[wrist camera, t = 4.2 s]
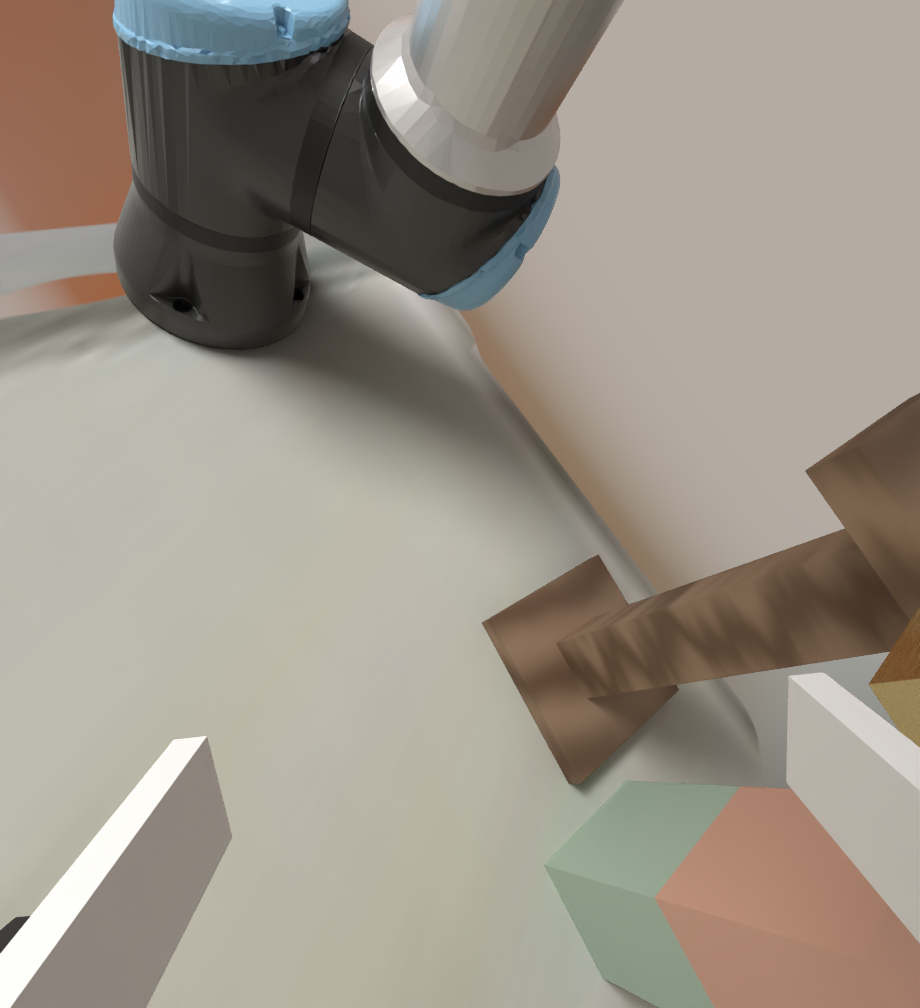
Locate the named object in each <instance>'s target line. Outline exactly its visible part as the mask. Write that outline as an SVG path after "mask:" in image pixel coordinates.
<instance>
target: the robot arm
mask: <svg viewBox="0 0 920 1008" xmlns="http://www.w3.org/2000/svg"><path fill="white" fill-rule="evenodd" d="M623 1H624V0H418V2H417V5H416V9H415V12H413V13H409V14H406V15H403V16H401V17H399V18H397V19H395V20H394V21H392V22H391V23H389V24H388V25H387V27H386V28H385V29H384V30H383V31H382V33H381V34H380V36H379V37H378V39H377V41H376V43H375V46H374V45H372V44H371V43H369V42H368V41H366V40H365V39H363V38H362V37H360V36H358V35H357V34H355V33H354V32H352V31H351V30H350V29H348V28H347V27H348V25H349V20H350V10H349V7H348V0H115V9H114V13H113V24H114V29H115V31H116V32H117V35H118V44H119V54H120V63H121V72H122V80H123V81H122V82H123V90H124V100H125V109H126V119H127V128H128V137H129V147H130V156H131V163H132V172H133V173H132V174H133V181H132V184H131V187H130V190H129V192H128V195H127V198H126V201H125V204H124V207H123V209H122V212H121V215H120V218H119V221H118V224H117V226H116V230H115V234H114V254H115V261H116V268H117V274H118V277H119V280H120V283H121V285H122V287H123V289H124V291H125V293H126V294H127V296H128V297H129V299H130V300H131V301H132V302H133V304H134V305H135V306H136V307H137V308H138V309H139V310H140V311H141V312H142V313H143V314H144V315H145V316H147V317H148V318H149V319H150V320H152V321H153V322H154V323H156V324H157V325H159V326H160V327H162V328H164V329H165V330H167V331H169V332H171V333H173V334H175V335H177V336H179V337H182V338H184V339H187V340H190V341H193V342H196V343H199V344H203V345H207V346H212V347H218V348H227V349H247V348H255V347H260V346H264V345H268V344H271V343H273V342H276V341H278V340H280V339H282V338H283V337H285V336H287V335H288V334H289V333H291V332H292V331H293V330H294V329H295V328H296V327H297V326H298V324H299V323H300V321H301V320H302V318H303V315H304V313H305V310H306V306H307V302H308V298H309V294H310V283H311V281H310V271H309V265H308V259H307V253H306V247H305V241H304V235H303V232H305V233H307V234H309V235H311V236H313V237H315V238H316V239H318V240H320V241H322V242H324V243H326V244H327V245H329V246H331V247H333V248H335V249H337V250H338V251H340V252H342V253H344V254H346V255H348V256H349V257H351V258H353V259H355V260H357V261H359V262H360V263H362V264H364V265H366V266H368V267H370V268H371V269H373V270H375V271H377V272H379V273H381V274H382V275H384V276H386V277H388V278H390V279H392V280H393V281H395V282H397V283H399V284H401V285H403V286H404V287H406V288H408V289H410V290H412V291H414V292H415V293H417V294H418V295H419V296H421V297H423V298H425V299H432V300H435V301H437V302H440V303H442V304H444V305H446V306H449V307H451V308H453V309H456V310H460V311H468V310H473V309H476V308H478V307H480V306H482V305H484V304H485V303H486V302H488V301H489V300H490V299H492V298H493V297H494V296H495V295H496V294H497V293H498V292H499V291H500V290H501V289H502V288H503V287H504V286H505V285H506V284H507V283H508V281H509V280H510V279H511V278H512V277H513V275H514V274H515V273H516V272H517V270H518V269H519V267H520V266H521V264H522V262H523V259H524V256H525V254H526V253H527V252H528V251H529V250H530V249H531V248H532V247H533V246H534V244H535V243H536V241H537V240H538V238H539V236H540V234H541V233H542V231H543V229H544V227H545V225H546V223H547V221H548V219H549V217H550V214H551V212H552V210H553V207H554V204H555V201H556V198H557V195H558V191H559V187H560V174H559V171H558V169H557V167H556V166H555V165H554V164H555V162H556V160H557V157H558V153H559V148H560V129H559V124H558V118H557V114H556V111H557V110H558V108H559V106H560V105H561V103H562V101H563V100H564V98H565V97H566V95H567V93H568V92H569V90H570V88H571V87H572V85H573V83H574V82H575V80H576V78H577V77H578V75H579V73H580V72H581V70H582V68H583V67H584V65H585V64H586V62H587V60H588V59H589V57H590V55H591V54H592V52H593V50H594V49H595V47H596V45H597V44H598V42H599V40H600V39H601V37H602V35H603V34H604V32H605V31H606V29H607V27H608V25H609V24H610V22H611V21H612V19H613V17H614V16H615V14H616V13H617V11H618V9H619V8H620V6H621V4H622V3H623ZM786 766H787V767H786V783H787V784H788V785H789V786H790V788H791V789H792V790H793V791H794V792H795V794H796V795H797V796H798V797H799V798H800V800H801V801H802V802H803V803H804V804H805V806H806V807H807V808H808V809H809V810H810V812H811V813H812V814H813V815H814V816H815V818H816V819H817V820H818V821H819V823H820V824H821V825H822V826H823V827H824V829H825V830H826V831H827V832H828V833H829V835H830V836H831V837H832V838H833V839H834V841H835V842H836V843H837V844H838V845H839V847H840V848H841V849H842V850H843V851H844V853H845V854H846V855H847V856H848V858H849V859H850V860H851V861H852V862H853V864H854V865H855V866H856V867H857V868H858V870H859V871H860V872H861V873H862V874H863V876H864V877H865V878H866V879H867V880H868V882H869V883H870V884H871V885H872V886H873V888H874V889H875V890H876V891H877V893H878V894H879V895H880V896H881V897H882V899H883V900H884V901H885V902H886V903H887V905H888V906H889V907H890V908H891V909H892V911H893V912H894V913H895V914H896V915H897V917H898V918H899V919H900V920H901V921H902V923H903V924H904V925H905V926H906V928H907V929H908V930H909V931H910V932H911V934H912V935H913V936H914V937H915V938H916V940H917V941H918V942H919V943H920V747H919V746H917V745H916V744H915V743H913V742H912V741H911V740H910V739H908V738H907V737H906V736H905V735H903V734H902V733H901V732H899V731H898V730H897V729H896V728H894V727H893V726H892V725H890V724H889V723H888V722H887V721H885V720H884V719H883V718H881V717H880V716H879V715H878V714H876V713H875V712H874V711H872V710H871V709H870V708H868V707H867V706H866V705H865V704H863V703H862V702H861V701H860V700H858V699H857V698H856V697H855V696H853V695H852V694H851V693H849V692H848V691H847V690H846V689H844V688H843V687H842V686H840V685H839V684H838V683H836V682H835V681H834V680H833V679H832V678H830V677H829V676H828V675H826V674H825V673H823V672H821V673H811V674H802V675H792V676H789V681H788V724H787V765H786ZM231 838H232V834H231V830H230V826H229V822H228V818H227V814H226V810H225V806H224V802H223V798H222V794H221V790H220V786H219V782H218V778H217V774H216V770H215V766H214V762H213V758H212V754H211V750H210V746H209V742H208V738H207V736H204V737H194V738H184V739H175V740H173V741H172V743H171V744H170V745H169V746H168V748H167V749H166V750H165V751H164V752H163V754H162V755H161V756H160V757H159V759H158V760H157V761H156V762H155V764H154V765H153V766H152V767H151V768H150V770H149V771H148V772H147V773H146V775H145V776H144V777H143V778H142V780H141V781H140V782H139V783H138V785H137V786H136V787H135V788H134V789H133V791H132V792H131V793H130V794H129V796H128V797H127V798H126V799H125V801H124V802H123V803H122V804H121V805H120V807H119V808H118V809H117V810H116V812H115V813H114V814H113V815H112V817H111V818H110V819H109V820H108V821H107V823H106V824H105V825H104V826H103V828H102V829H101V830H100V831H99V833H98V834H97V835H96V836H95V838H94V839H93V840H92V841H91V842H90V844H89V845H88V846H87V847H86V849H85V850H84V851H83V852H82V854H81V855H80V856H79V857H78V858H77V860H76V861H75V862H74V863H73V865H72V866H71V867H70V868H69V870H68V871H67V872H66V873H65V874H64V876H63V877H62V878H61V879H60V881H59V882H58V883H57V884H56V886H55V887H54V888H53V889H52V891H51V892H50V893H49V894H48V895H47V897H46V898H45V899H44V900H43V902H42V903H41V904H40V905H39V907H38V908H37V909H36V910H35V911H34V913H33V914H32V915H31V916H25V917H16V918H14V919H13V920H12V921H11V922H10V923H8V924H7V925H6V926H5V927H4V928H3V929H1V930H0V1008H146V1007H147V1005H148V1003H149V1001H150V999H151V997H152V995H153V993H154V991H155V989H156V987H157V985H158V983H159V981H160V979H161V977H162V975H163V973H164V971H165V969H166V967H167V965H168V963H169V961H170V959H171V957H172V955H173V953H174V951H175V949H176V947H177V945H178V943H179V941H180V939H181V937H182V935H183V933H184V931H185V930H186V928H187V926H188V924H189V922H190V920H191V918H192V916H193V914H194V912H195V910H196V908H197V906H198V904H199V902H200V900H201V898H202V896H203V894H204V892H205V890H206V888H207V886H208V884H209V882H210V880H211V878H212V876H213V874H214V872H215V870H216V868H217V866H218V864H219V862H220V860H221V858H222V856H223V854H224V852H225V850H226V848H227V846H228V844H229V842H230V840H231Z"/></svg>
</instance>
